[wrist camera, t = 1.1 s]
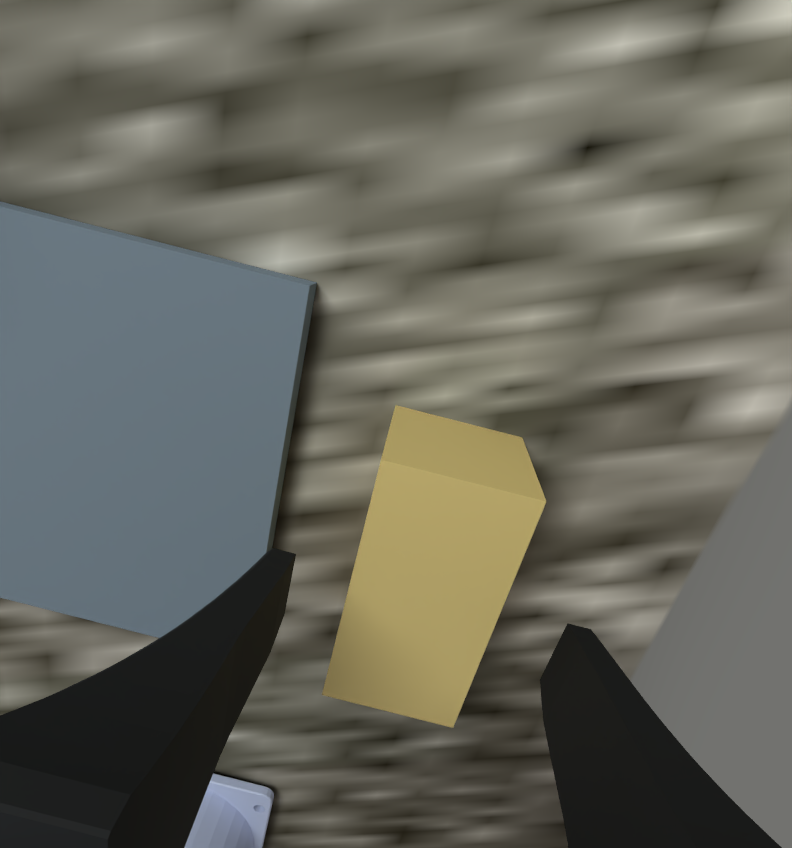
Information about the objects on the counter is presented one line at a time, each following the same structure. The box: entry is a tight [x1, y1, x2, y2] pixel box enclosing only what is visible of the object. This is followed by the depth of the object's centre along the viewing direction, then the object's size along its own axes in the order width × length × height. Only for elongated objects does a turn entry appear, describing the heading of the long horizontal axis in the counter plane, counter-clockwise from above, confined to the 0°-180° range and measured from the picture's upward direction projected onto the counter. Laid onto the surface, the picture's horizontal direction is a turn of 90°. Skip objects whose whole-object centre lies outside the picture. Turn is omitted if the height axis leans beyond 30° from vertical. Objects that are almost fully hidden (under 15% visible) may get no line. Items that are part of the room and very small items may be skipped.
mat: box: [0, 202, 317, 638], centre depth 16 cm, size 14×12×1 cm
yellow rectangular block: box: [322, 406, 546, 728], centre depth 15 cm, size 8×4×4 cm, turn 167°
